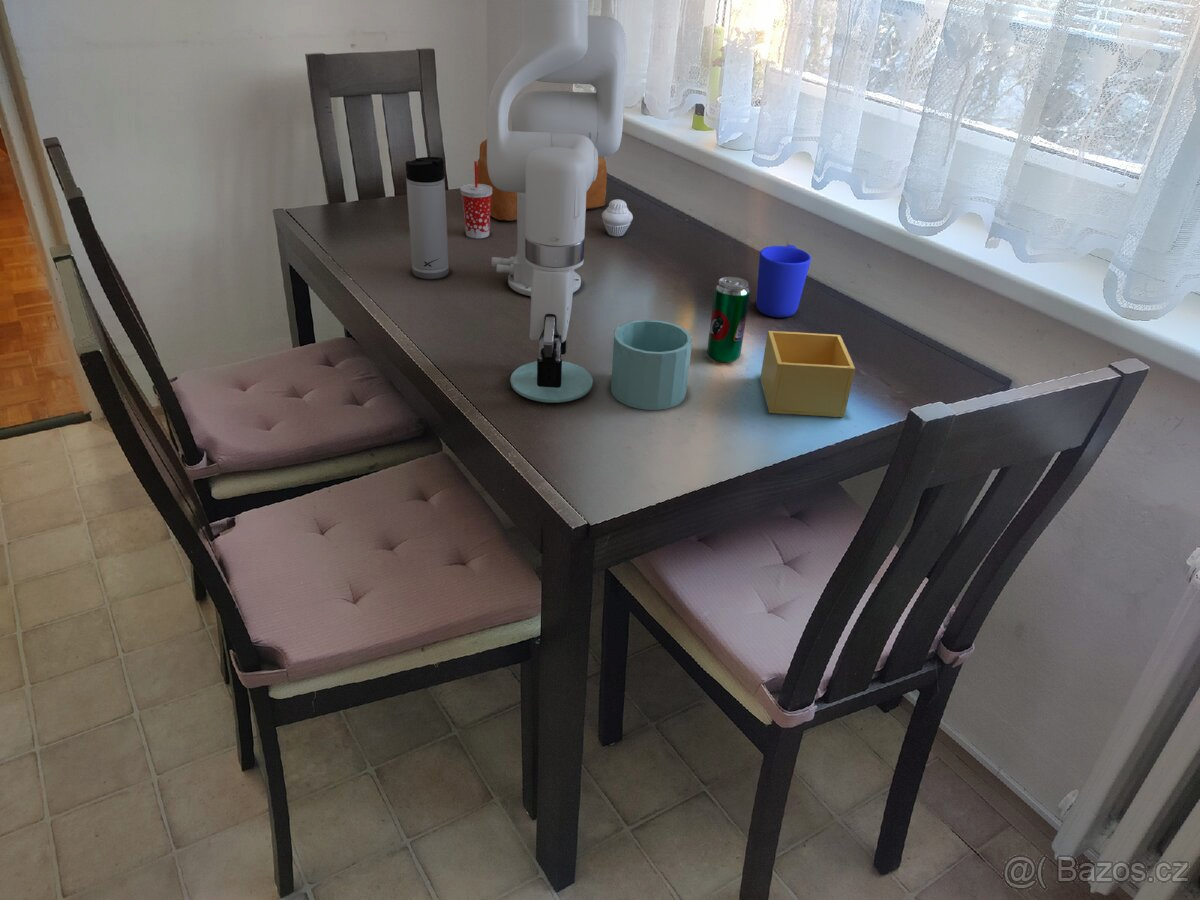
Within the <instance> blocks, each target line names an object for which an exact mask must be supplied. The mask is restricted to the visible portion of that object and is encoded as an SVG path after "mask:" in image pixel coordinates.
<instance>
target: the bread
mask: <svg viewBox="0 0 1200 900" xmlns="http://www.w3.org/2000/svg"><path fill="white" fill-rule="evenodd" d="M478 155H479V156H478V159H477V184H485V185H488V186H490V187H492V189H493V191H492V194H491V210H490V217H492V218H493V219H495V220H498V221H501V222H502V221H504V222H505V221H506V222H510V221H517V193H516V192H505V191H501V190H499V189H497V188H496V187H495V186H494V185H493V184H492V182H491V180H490V178H489V174H488V169H487V138H486V139H485V140H483V141H482V142H481V143H480V144H479V154H478ZM607 177H608V171H607V163H606V160H605V157H598V170H597V177H596V179H595V181H593V182H592V184H591V186H590V188H589V189H588V191H587V192H586V210H592V209H598V208H601V207H605V205H606V197H607V182H608V181H607V180H608V179H607Z"/></svg>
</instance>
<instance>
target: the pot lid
mask: <svg viewBox="0 0 1200 900" xmlns="http://www.w3.org/2000/svg"><path fill="white" fill-rule="evenodd" d="M553 348H555V349H556V347H555V346H553ZM560 359H562V355H561V350H560ZM593 383H594V380H593V376H592V374H591V373H590V372H589V371H588V370H587V369H585V368H584V367H582V366H580V365H578V364H575V363H572V362H568V361H564V360H562V376H561V387H559V388H554V387H539V386H538V385H537V360H536V361H532V362H528V363H525V364H523V365H521V366H519V367H517V368H516V369H515V370H514V371H512V373H511V376H510V386H511V388H512V389H513V391H514V392H515V393H517V394H518V395H520V396H522V397H524V398H526V399H529V400H532V401H535V402H541V403H565V402H571V401H574V400H578V399H580V398H582V397H584V396H586V395H587V394H588V393H589V392H590V391H591V390H592V388H593V385H594V384H593Z"/></svg>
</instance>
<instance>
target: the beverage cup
mask: <svg viewBox="0 0 1200 900" xmlns="http://www.w3.org/2000/svg"><path fill="white" fill-rule="evenodd" d="M473 162H474V183H468V184H464V185H461V186H460V188H459V190H460V195H461V198H462V209H463V220H464V229H465V230H464V231H465V236H466V237H468V238H471V239H485V238H488V237H489V236H490V234H491V233H490V231H491V228H490V227H491V215H490V210H491V194H492V191H493V189H492V187H490V186H488V185H485V184H477V163H478V160H475V161H473Z"/></svg>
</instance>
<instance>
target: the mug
mask: <svg viewBox="0 0 1200 900" xmlns="http://www.w3.org/2000/svg"><path fill="white" fill-rule="evenodd" d="M758 261H759V262H758V272H757V273H758V274H757V286H756V287H757V289H756V301H755V302H756V308H757V310H758V311H759V312H760V313H761V314H763V315H766V316H768V317H772V318H779V319H783V318H788V317H792V316H793V315H794V314H796V312H797V310H798V309H799V306H800V302H801V298H802V295H803V290H804V287H805V283H806V280H807V277H808V272H809V269H810V265H811V261H812V258H811V255H810V254H809V253H808V252H807V251H804V250H802V249H800V248H797V245H793V244H788V245H771V246H767V247H764V248H762V249H761V250H760V251H759V260H758Z"/></svg>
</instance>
